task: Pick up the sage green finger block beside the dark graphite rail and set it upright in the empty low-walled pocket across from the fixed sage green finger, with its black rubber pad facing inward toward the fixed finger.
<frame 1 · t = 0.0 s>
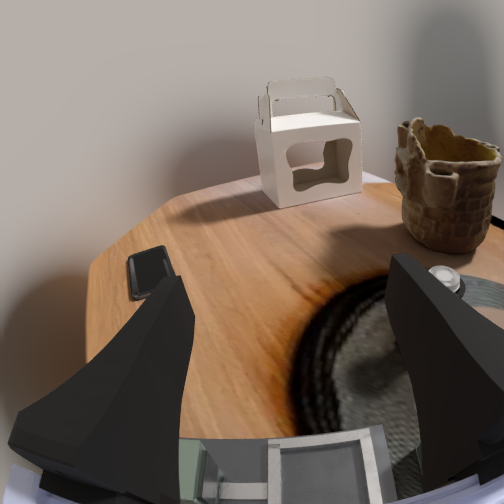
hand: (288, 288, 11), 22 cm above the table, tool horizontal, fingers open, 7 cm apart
rail: (275, 494, 21), on the table
gable box: (311, 192, 78), on the table
push button: (421, 341, 33), on the table
phone: (152, 274, 55), on the table
ceramic vessel: (442, 241, 51), on the table
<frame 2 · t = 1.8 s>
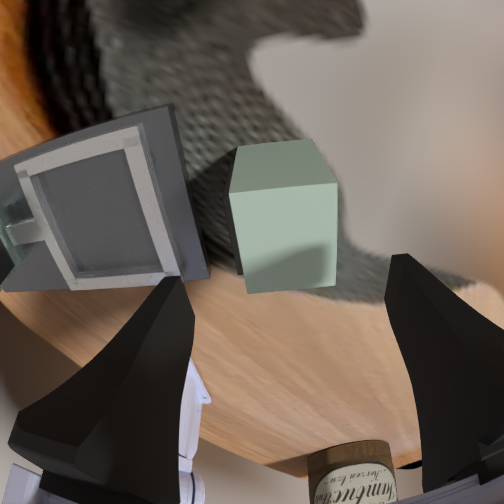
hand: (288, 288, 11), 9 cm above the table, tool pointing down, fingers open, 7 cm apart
rail: (59, 218, 19), on the table
finger block: (279, 184, 18), on the table
wooden container: (348, 453, 46), on the table
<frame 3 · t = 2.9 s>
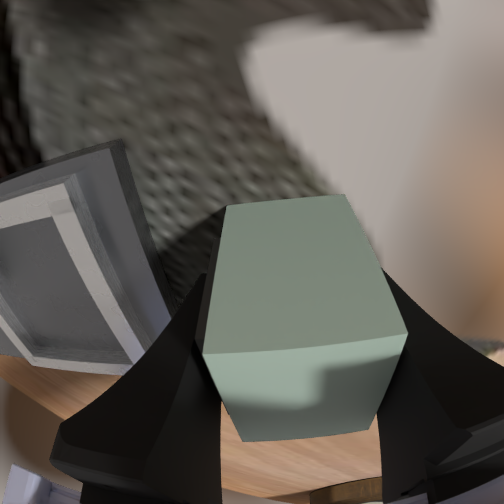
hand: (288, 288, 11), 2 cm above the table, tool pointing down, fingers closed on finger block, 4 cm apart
rail: (5, 283, 13), on the table
finger block: (290, 258, 12), on the table, touching gripper
wooden container: (352, 486, 40), on the table
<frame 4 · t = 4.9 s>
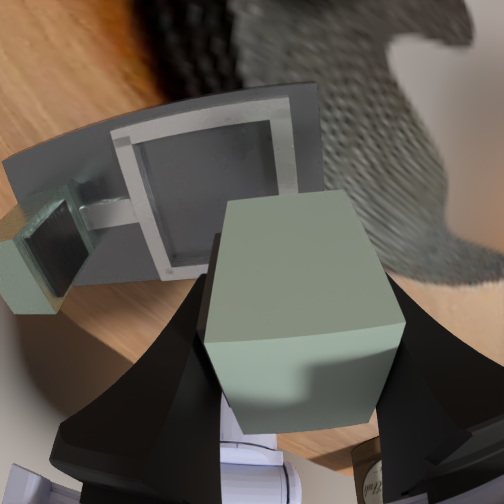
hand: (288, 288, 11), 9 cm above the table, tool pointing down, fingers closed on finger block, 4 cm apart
rail: (152, 198, 19), on the table
finger block: (291, 253, 12), point 7 cm above the table, touching gripper
wooden container: (390, 442, 45), on the table
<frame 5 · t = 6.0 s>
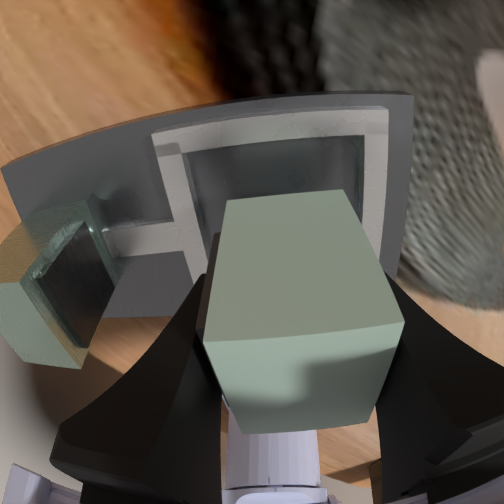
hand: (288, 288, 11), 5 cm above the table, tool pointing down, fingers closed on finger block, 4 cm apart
rail: (197, 220, 15), on the table
finger block: (290, 253, 12), point 3 cm above the table, touching gripper
wooden container: (407, 455, 42), on the table
when the fingers open (3 cm above the table, at t = 6.9 s): finger block stays where it is, resting on rail.
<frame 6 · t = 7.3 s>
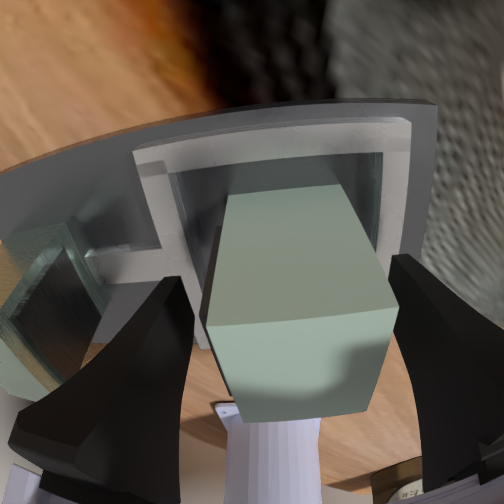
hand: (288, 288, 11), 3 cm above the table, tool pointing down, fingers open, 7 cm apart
rail: (190, 244, 14), on the table
finger block: (289, 247, 12), point 1 cm above the table, touching rail
wooden container: (409, 465, 41), on the table
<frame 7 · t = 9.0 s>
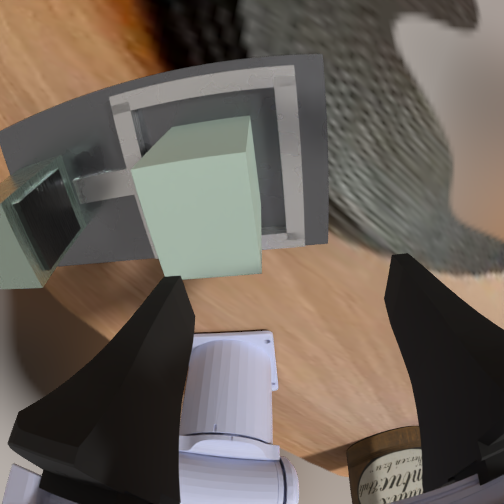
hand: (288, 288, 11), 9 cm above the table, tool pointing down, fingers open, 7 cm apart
rail: (149, 170, 17), on the table
finger block: (217, 165, 16), point 1 cm above the table, touching rail
wooden container: (386, 441, 45), on the table
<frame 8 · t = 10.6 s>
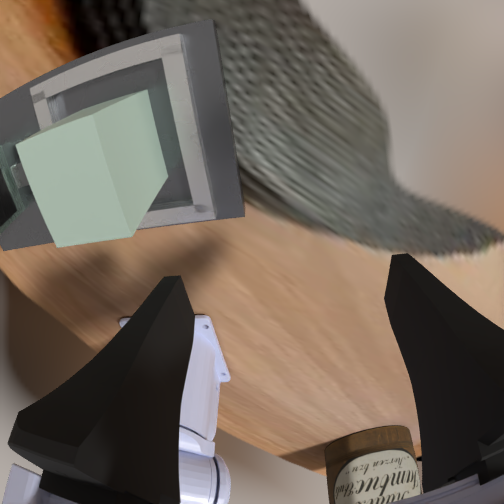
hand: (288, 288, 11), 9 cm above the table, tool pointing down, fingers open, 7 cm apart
rail: (72, 153, 17), on the table
finger block: (123, 141, 15), point 1 cm above the table, touching rail
wooden container: (367, 441, 44), on the table
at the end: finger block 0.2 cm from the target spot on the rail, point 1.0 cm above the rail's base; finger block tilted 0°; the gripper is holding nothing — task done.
